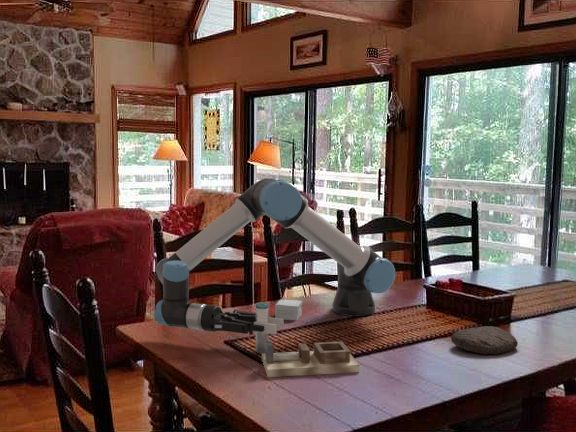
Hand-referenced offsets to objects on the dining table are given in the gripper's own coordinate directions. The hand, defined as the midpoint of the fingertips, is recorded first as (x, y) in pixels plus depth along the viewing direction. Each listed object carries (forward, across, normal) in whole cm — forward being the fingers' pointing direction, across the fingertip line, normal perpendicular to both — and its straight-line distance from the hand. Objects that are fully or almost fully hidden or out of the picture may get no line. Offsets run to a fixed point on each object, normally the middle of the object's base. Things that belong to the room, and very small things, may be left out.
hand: (279, 326), depth 170 cm
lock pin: (+4, +9, -6) cm, 12 cm away
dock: (+11, +6, -8) cm, 15 cm away
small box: (-10, -36, -8) cm, 38 cm away
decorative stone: (+54, -28, -8) cm, 61 cm away
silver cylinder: (-5, 0, -8) cm, 10 cm away
